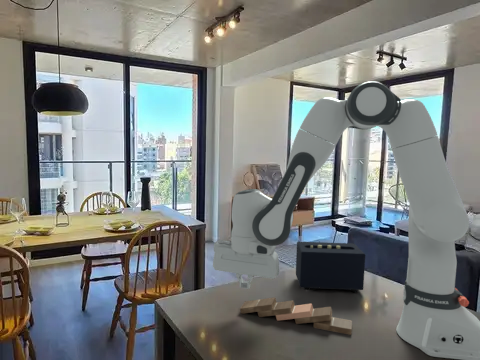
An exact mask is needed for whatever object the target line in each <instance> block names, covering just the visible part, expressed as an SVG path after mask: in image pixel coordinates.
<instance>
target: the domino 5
mask: <svg viewBox="0 0 480 360" xmlns="http://www.w3.org/2000/svg"><path fill="white" fill-rule="evenodd" d="M313 328H314V329H319V330H324V331H327V332H328V331H330V332H334V333H339V334H345V335H349V336H352V330H353V329H352V328H353V320H351V319H346V318H340V317H333V316H332V320H329V321H319V322H313Z"/></svg>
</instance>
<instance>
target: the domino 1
mask: <svg viewBox="0 0 480 360" xmlns="http://www.w3.org/2000/svg"><path fill="white" fill-rule="evenodd" d="M276 303H277V298H276V296H274V297H268V298H266V297H265V298H260V299H253V300H245V301H244V302H243V303H242V305H241V306H240V307H239V310H240V314H249V313H256V312H257V313H258V312H259V311H267V310H273V309H274V307H275V305H276Z"/></svg>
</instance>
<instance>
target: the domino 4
mask: <svg viewBox="0 0 480 360" xmlns="http://www.w3.org/2000/svg"><path fill="white" fill-rule="evenodd" d="M332 317H333V309H332V306H325V307H324V306H323V307H316V308H314V307H313V311H312V316H311V317H304V318H296V319H294V321H295V324H296V325H299V324H307V323H314V322H319V321H329V320H332Z"/></svg>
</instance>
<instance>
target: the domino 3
mask: <svg viewBox="0 0 480 360" xmlns="http://www.w3.org/2000/svg"><path fill="white" fill-rule="evenodd" d="M294 305H295V304H294ZM313 309H314V306H313V304H312V302H311V303H305V304H298V305H297V304H296V305H295V306H294V309H293V311H292V313H290V314H281V315H275V318H276V321H286V320H287V321H288V320H293V319H294V320H295V319H296V318H304V317H311V316H312V311H313Z"/></svg>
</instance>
